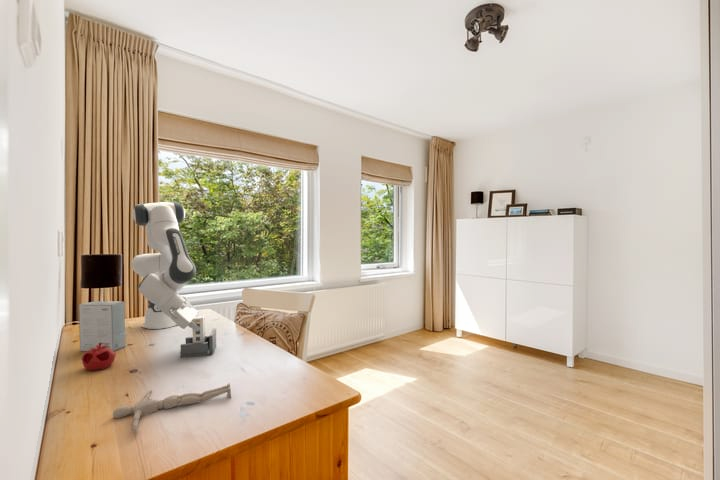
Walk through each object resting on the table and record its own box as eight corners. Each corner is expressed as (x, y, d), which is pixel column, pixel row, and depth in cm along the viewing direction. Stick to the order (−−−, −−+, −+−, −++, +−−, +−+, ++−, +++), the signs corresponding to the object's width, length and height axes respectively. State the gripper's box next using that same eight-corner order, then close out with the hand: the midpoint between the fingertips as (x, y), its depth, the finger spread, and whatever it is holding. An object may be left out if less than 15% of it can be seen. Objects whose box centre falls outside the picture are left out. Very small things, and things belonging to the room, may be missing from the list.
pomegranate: (90, 364, 134) (89, 340, 134) (120, 361, 137) (119, 337, 137) (76, 374, 125) (75, 348, 125) (108, 370, 127) (108, 345, 127)
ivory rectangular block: (195, 341, 149) (194, 315, 149) (205, 340, 150) (204, 315, 150) (192, 345, 144) (192, 318, 144) (203, 344, 145) (202, 317, 145)
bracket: (186, 348, 151) (186, 330, 151) (216, 346, 154) (216, 328, 154) (180, 357, 140) (180, 337, 140) (212, 354, 143) (212, 335, 143)
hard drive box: (126, 346, 155) (125, 301, 154) (112, 352, 147) (111, 305, 147) (94, 345, 156) (93, 300, 156) (78, 351, 149) (77, 304, 148)
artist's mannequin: (228, 381, 120) (124, 402, 108) (227, 369, 120) (123, 388, 108) (234, 418, 95) (99, 450, 83) (233, 403, 95) (98, 432, 83)
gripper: (174, 305, 135) (201, 328, 137) (185, 296, 154) (209, 316, 157) (161, 317, 134) (189, 340, 136) (174, 306, 153) (199, 327, 156)
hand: (200, 327), depth 147 cm, fingers closed on ivory rectangular block, 5 cm apart
